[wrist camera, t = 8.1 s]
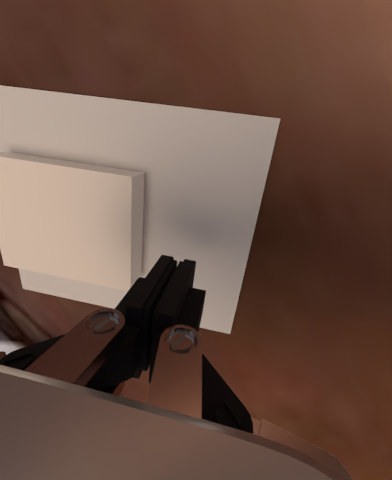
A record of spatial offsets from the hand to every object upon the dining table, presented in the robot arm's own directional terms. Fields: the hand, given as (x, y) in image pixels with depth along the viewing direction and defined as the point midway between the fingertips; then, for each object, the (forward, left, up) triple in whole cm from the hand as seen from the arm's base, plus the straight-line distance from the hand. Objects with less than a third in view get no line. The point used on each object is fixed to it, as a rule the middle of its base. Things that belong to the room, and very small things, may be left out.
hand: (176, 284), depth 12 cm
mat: (+6, 0, -6) cm, 8 cm away
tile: (+4, 0, -5) cm, 6 cm away
